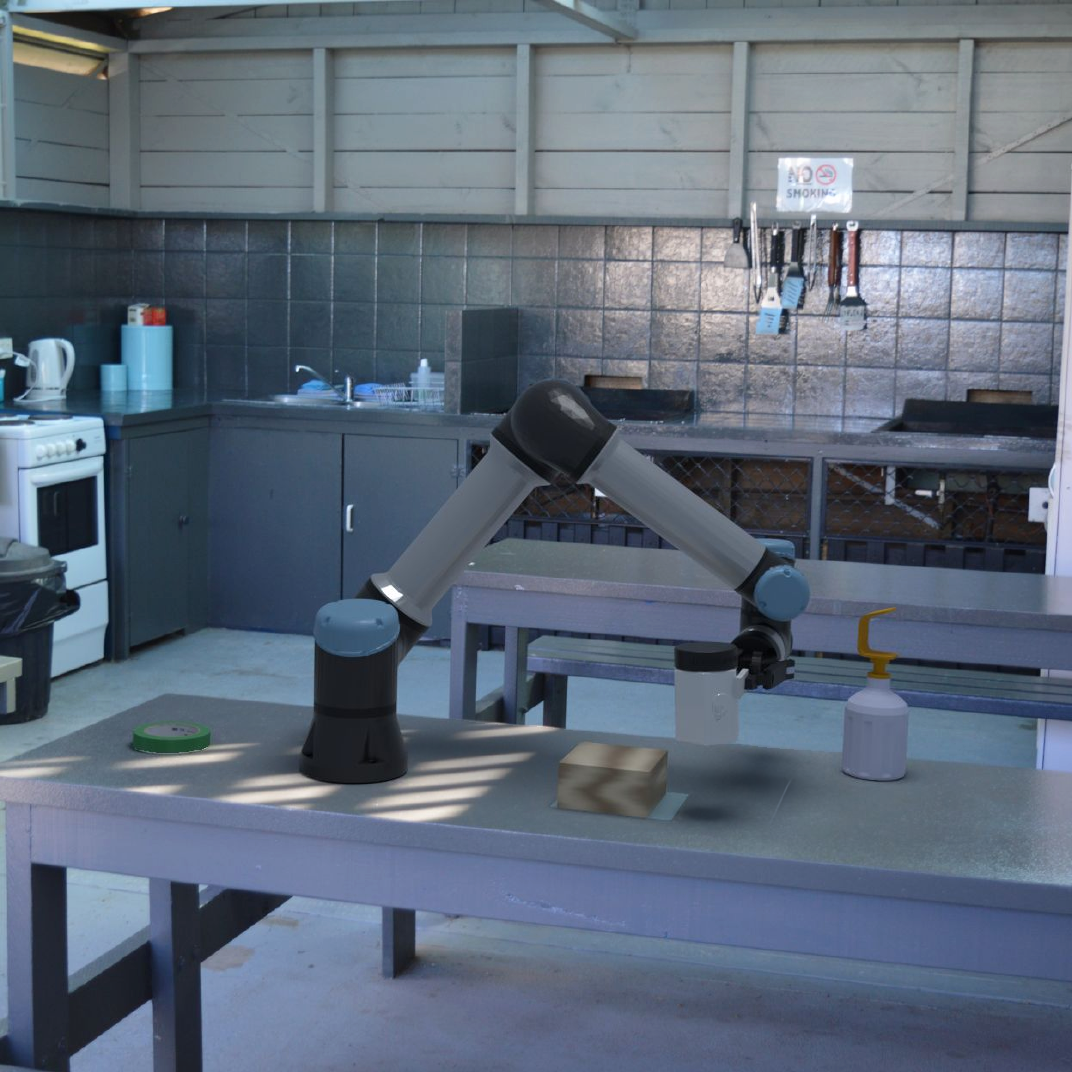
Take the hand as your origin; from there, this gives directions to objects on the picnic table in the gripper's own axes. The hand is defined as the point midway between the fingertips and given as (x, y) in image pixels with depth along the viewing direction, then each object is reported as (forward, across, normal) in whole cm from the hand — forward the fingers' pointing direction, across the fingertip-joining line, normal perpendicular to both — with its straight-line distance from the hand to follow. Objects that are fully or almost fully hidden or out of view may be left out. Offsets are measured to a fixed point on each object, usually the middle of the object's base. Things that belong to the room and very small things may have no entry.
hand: (728, 687), depth 187 cm
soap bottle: (-34, -17, -18) cm, 42 cm away
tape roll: (-7, +83, -18) cm, 85 cm away
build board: (-4, +14, -18) cm, 23 cm away
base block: (-3, +15, -17) cm, 23 cm away
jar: (-3, +3, -8) cm, 8 cm away
